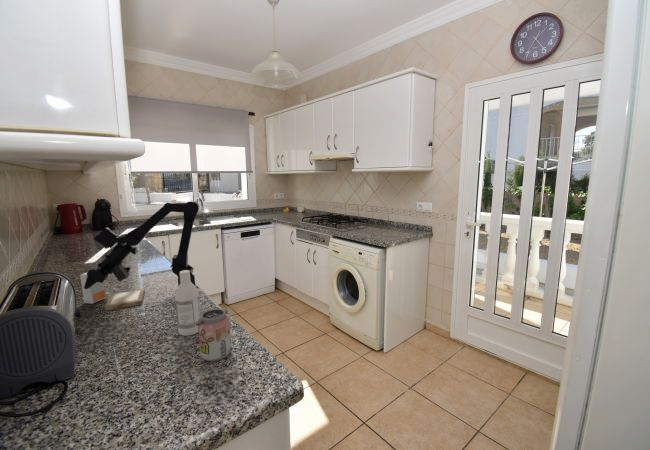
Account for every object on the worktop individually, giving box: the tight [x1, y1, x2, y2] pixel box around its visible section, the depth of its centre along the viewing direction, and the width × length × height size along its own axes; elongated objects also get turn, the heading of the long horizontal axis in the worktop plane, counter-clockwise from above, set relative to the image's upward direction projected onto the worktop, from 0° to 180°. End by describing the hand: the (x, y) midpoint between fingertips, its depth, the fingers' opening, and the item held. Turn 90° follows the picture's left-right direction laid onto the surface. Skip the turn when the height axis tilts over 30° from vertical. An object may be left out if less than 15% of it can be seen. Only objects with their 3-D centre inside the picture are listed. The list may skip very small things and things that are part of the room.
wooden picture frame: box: [104, 288, 146, 311], centre depth 122 cm, size 12×14×2 cm
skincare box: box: [79, 271, 107, 305], centre depth 121 cm, size 6×4×12 cm
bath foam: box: [174, 270, 202, 337], centre depth 96 cm, size 7×7×20 cm
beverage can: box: [195, 308, 232, 362], centre depth 84 cm, size 9×8×12 cm
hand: (89, 285), depth 121 cm, fingers closed on skincare box, 7 cm apart
